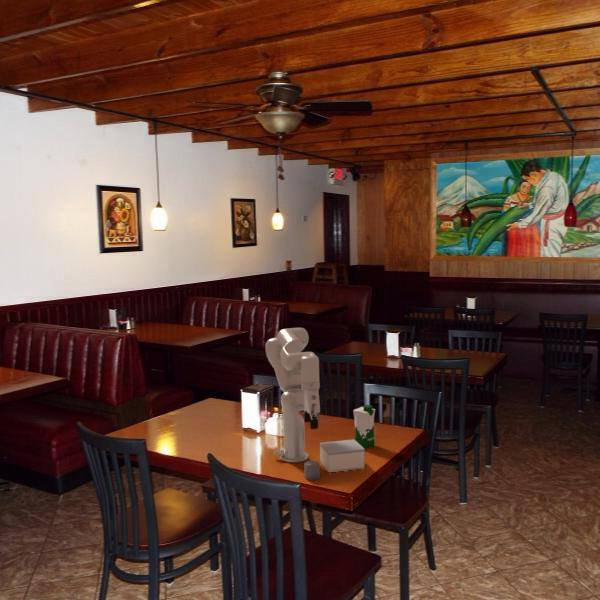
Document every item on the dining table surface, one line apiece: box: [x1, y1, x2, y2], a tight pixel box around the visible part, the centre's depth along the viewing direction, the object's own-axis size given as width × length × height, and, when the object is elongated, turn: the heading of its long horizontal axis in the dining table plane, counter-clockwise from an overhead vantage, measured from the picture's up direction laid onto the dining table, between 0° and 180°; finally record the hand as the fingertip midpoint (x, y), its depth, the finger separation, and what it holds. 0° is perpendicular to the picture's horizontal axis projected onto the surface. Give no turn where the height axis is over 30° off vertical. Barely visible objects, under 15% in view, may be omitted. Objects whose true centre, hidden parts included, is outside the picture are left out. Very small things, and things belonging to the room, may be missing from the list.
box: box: [319, 445, 365, 474], centre depth 271 cm, size 16×14×8 cm
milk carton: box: [352, 404, 376, 450], centre depth 295 cm, size 9×9×20 cm
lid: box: [318, 438, 366, 455], centre depth 270 cm, size 16×14×1 cm
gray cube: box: [303, 460, 321, 481], centre depth 258 cm, size 6×6×6 cm
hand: (311, 425), depth 256 cm, fingers open, 9 cm apart
